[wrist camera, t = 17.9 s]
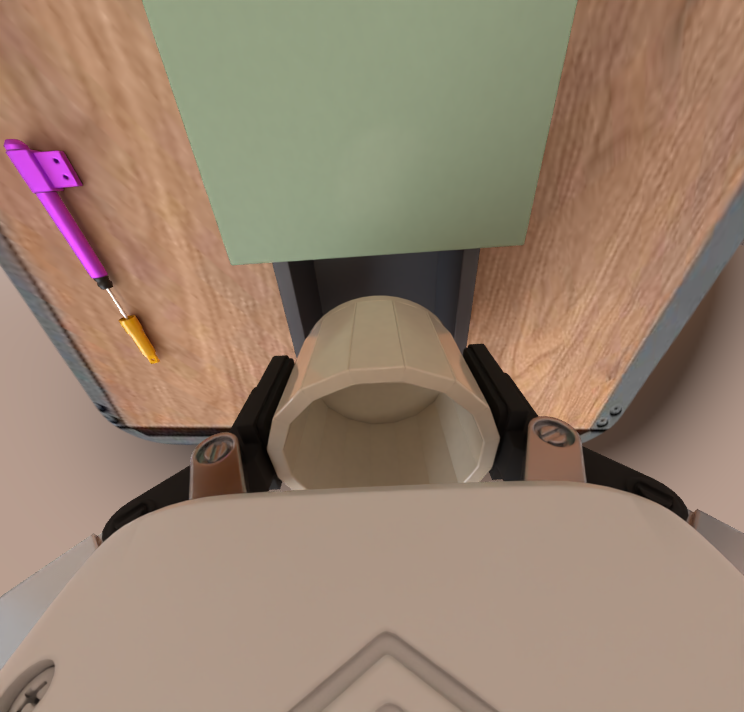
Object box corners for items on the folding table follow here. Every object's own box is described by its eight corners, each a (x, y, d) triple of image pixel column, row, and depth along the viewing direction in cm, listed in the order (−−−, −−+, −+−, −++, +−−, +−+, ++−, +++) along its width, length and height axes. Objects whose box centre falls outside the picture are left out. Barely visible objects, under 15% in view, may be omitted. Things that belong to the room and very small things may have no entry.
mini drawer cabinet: (465, 220, 19) (524, 245, 12) (284, 233, 20) (230, 265, 12) (507, -184, 11) (780, -910, 4) (200, -146, 12) (-105, -726, 4)
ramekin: (463, 289, 11) (523, 359, 7) (448, 417, 15) (480, 514, 10) (286, 300, 11) (234, 375, 7) (317, 424, 15) (295, 521, 11)
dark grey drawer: (442, 402, 27) (461, 463, 21) (326, 408, 27) (313, 470, 22) (465, 163, 17) (516, 155, 11) (277, 178, 17) (228, 178, 11)
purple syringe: (8, 142, 16) (151, 360, 25) (-9, 139, 16) (145, 367, 24) (59, 138, 17) (182, 354, 26) (45, 135, 16) (178, 361, 25)
